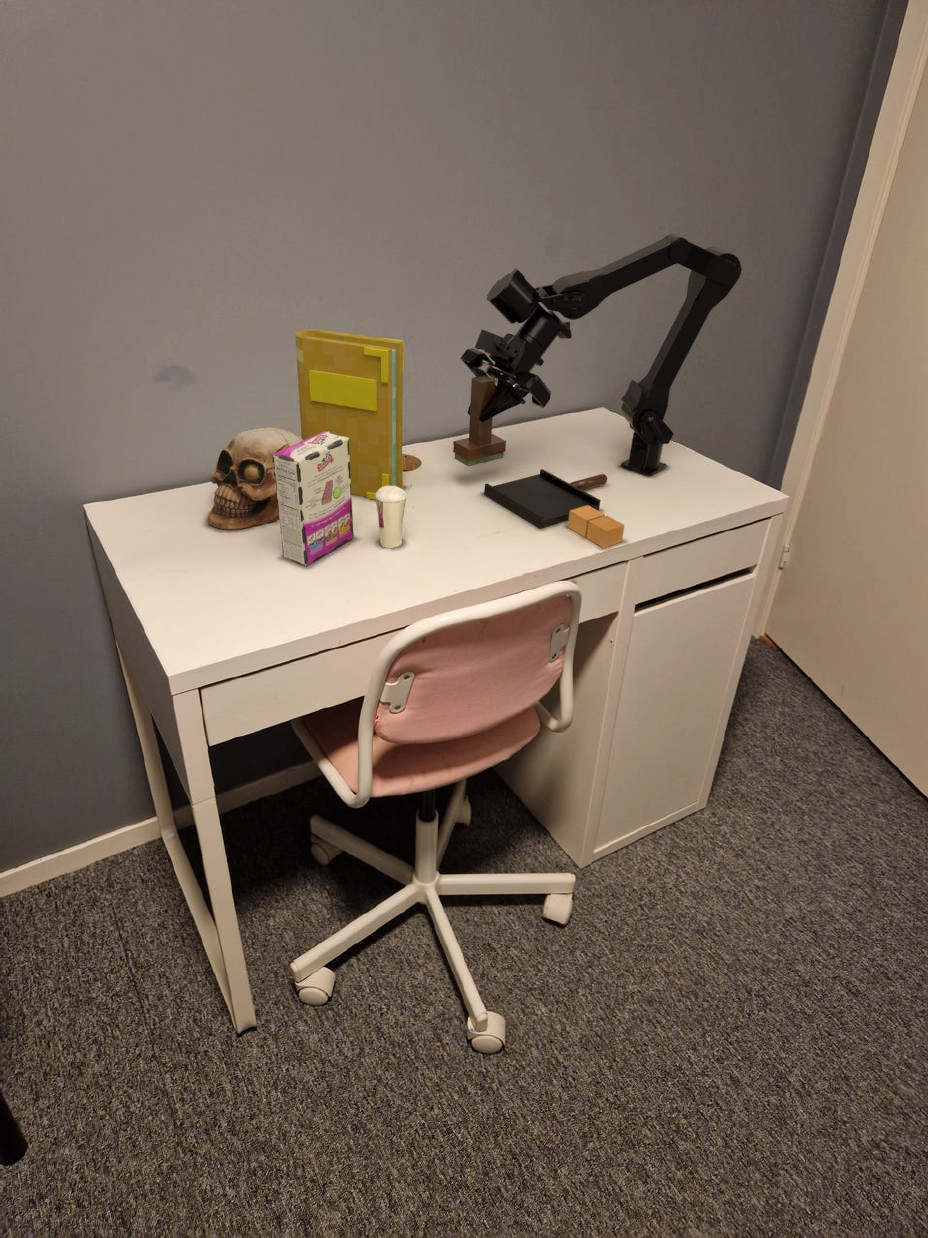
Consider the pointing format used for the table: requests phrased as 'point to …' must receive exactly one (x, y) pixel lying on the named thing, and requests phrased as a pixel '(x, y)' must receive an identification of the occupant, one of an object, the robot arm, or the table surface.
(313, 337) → the book
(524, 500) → the griddle
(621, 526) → the orange square block
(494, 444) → the scrub brush
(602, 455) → the table surface
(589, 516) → the block
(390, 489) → the milkshake
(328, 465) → the candy bar box
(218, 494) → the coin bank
